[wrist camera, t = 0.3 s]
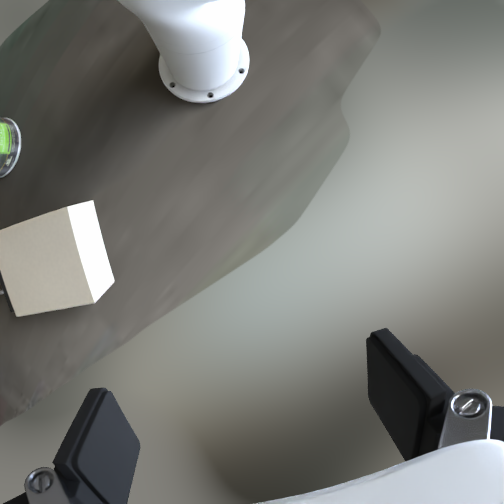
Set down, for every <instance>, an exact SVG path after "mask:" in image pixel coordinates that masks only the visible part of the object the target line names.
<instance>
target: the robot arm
mask: <svg viewBox="0 0 504 504" xmlns="http://www.w3.org/2000/svg"><path fill="white" fill-rule="evenodd" d="M117 1H118V2H119V3H121V4H122V5H123V6H124V7H126V8H127V9H128V10H130V11H131V12H132V13H134V14H135V15H137V16H138V17H139V18H140V20H141V21H142V22H143V24H144V25H145V27H146V29H147V30H148V32H149V34H150V36H151V38H152V39H153V41H154V43H155V45H156V47H157V49H158V50H159V52H160V58H159V73H160V76H161V79H162V81H163V83H164V85H165V86H166V87H167V89H168V90H169V91H170V92H172V93H173V94H174V95H175V96H177V97H179V98H180V99H183V100H186V101H189V102H194V103H208V102H214V101H217V100H220V99H223V98H224V97H226V96H228V95H230V94H231V93H232V92H234V91H235V90H236V89H237V88H238V87H239V86H240V85H241V84H242V82H243V80H244V79H245V77H246V74H247V71H248V68H249V53H248V49H247V47H246V44H245V42H244V41H243V40H242V38H241V35H242V28H243V20H244V13H245V1H244V0H117ZM240 71H242V72H243V74H240V73H239V72H240ZM172 85H175V87H174V88H172ZM210 95H212V98H209V96H210ZM366 347H367V369H368V397H369V400H370V403H371V405H372V406H373V408H374V410H375V411H376V413H377V415H378V416H379V417H380V420H381V421H382V423H383V425H384V426H385V428H386V429H387V431H388V432H389V435H390V436H391V438H392V439H393V441H394V443H395V444H396V446H397V448H398V449H399V451H400V453H401V455H402V456H403V458H404V460H405V461H406V462H403V463H400V464H398V465H395V466H393V467H390V468H387V469H385V470H382V471H379V472H376V473H374V474H370V475H367V476H364V477H361V478H358V479H355V480H352V481H349V482H346V483H343V484H339V485H336V486H332V487H329V488H325V489H321V490H317V491H314V492H309V493H306V494H301V495H297V496H292V497H288V498H283V499H277V500H273V501H267V502H261V503H255V504H504V407H500V406H492V402H491V399H490V397H489V396H488V395H487V394H486V393H485V392H483V391H480V390H477V389H465V390H462V391H459V392H457V393H454V392H453V391H452V390H451V389H450V388H449V387H448V386H447V385H446V383H445V382H443V380H442V379H441V378H440V377H439V376H438V375H437V374H436V373H435V372H434V371H433V370H432V369H431V368H430V367H429V366H428V365H427V364H426V363H425V362H424V361H423V360H422V359H421V358H420V357H419V356H418V355H412V353H411V352H410V351H408V349H407V348H406V347H405V346H404V345H403V344H402V343H401V342H400V341H399V340H398V339H397V338H396V337H395V336H394V335H393V334H392V333H391V332H390V331H389V330H388V329H387V328H384V329H381V330H378V331H375V332H372V333H371V335H370V337H369V338H367V339H366ZM139 450H140V443H139V440H138V438H137V436H136V435H135V433H134V431H133V430H132V428H131V426H130V424H129V423H128V421H127V419H126V417H125V416H124V414H123V412H122V410H121V409H120V407H119V405H118V403H117V401H116V399H115V397H114V396H113V394H112V392H111V391H108V390H107V389H106V388H94V389H90V391H89V392H88V394H87V396H86V398H85V400H84V402H83V404H82V405H81V407H80V409H79V411H78V413H77V415H76V417H75V419H74V420H73V422H72V425H71V426H70V428H69V430H68V432H67V434H66V436H65V438H64V440H63V442H62V444H61V446H60V448H59V450H58V452H57V454H56V456H55V459H54V460H53V464H54V465H55V468H54V470H53V469H51V468H48V467H41V468H38V469H36V470H34V471H32V472H31V473H30V474H29V475H28V477H27V478H26V480H25V484H24V486H25V491H26V492H25V493H23V494H21V495H19V496H17V497H16V498H13V499H12V500H10V501H7V502H5V503H3V504H127V502H128V497H129V493H130V488H131V484H132V480H133V475H134V471H135V467H136V463H137V459H138V455H139Z"/></svg>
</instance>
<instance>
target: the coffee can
mask: <svg viewBox="0 0 504 504" xmlns="http://www.w3.org/2000/svg"><path fill="white" fill-rule="evenodd" d="M20 150H21V135H20V130H19V128H18V126H17V124H16V123H15V122H14V121H13V120H11V119H9V118H2V117H0V178H1V177H4V176H5V175H7V174H8V173H9V172H10V171H11V170H12V169H13V168H14V166H15V164H16V162H17V160H18V157H19V154H20Z"/></svg>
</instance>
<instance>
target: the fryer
mask: <svg viewBox="0 0 504 504" xmlns="http://www.w3.org/2000/svg"><path fill="white" fill-rule="evenodd" d="M0 271H1V274H2V277H3V280H4V283H5V286H6V289H7V292H8V295H9V298H10V301H11V303H12V306H13V309H14V311H15V314H16V316H17V317H19V316H25V315H31V314H37V313H42V312H48V311H54V310H59V309H65V308H70V307H76V306H81V305H87V304H92V303H95V302H96V301H97V300H98V299H99V298H100V297H101V296H102V295H103V294H104V292H105V291H106V290H107V289H108V288H109V287H110V286H111V285H112V284H113V283H114V282H115V281H114V277H113V274H112V271H111V267H110V264H109V261H108V257H107V254H106V250H105V246H104V243H103V239H102V235H101V231H100V227H99V223H98V219H97V215H96V211H95V207H94V202H93V200H92V201H88V202H84V203H79V204H75V205H72V206H68V207H64V208H61V209H58V210H55V211H52V212H49V213H46V214H43V215H40V216H38V217H35V218H32V219H29V220H26V221H23V222H21V223H18V224H15V225H12V226H10V227H7V228H4V229H2V230H0Z"/></svg>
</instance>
